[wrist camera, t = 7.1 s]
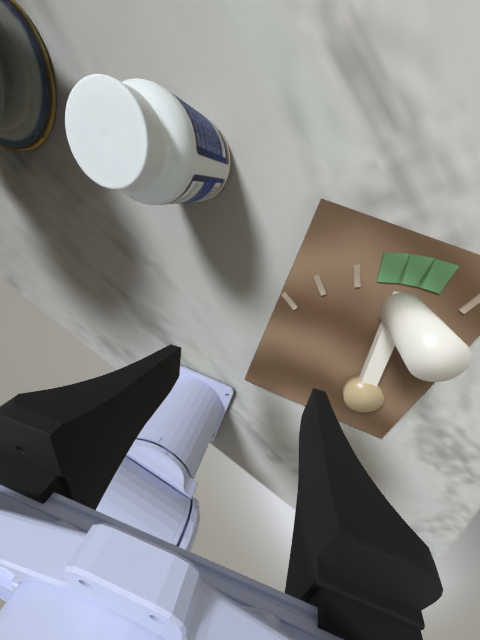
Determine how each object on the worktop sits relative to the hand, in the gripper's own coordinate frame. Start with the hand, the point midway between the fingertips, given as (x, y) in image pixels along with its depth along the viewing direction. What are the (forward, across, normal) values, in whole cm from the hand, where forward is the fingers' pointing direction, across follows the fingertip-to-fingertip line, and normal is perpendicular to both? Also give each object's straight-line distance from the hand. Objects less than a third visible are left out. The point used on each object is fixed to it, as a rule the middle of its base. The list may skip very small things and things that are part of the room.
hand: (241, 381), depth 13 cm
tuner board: (+10, -7, +1) cm, 13 cm away
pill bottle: (+11, +8, -10) cm, 16 cm away
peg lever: (+9, -9, +1) cm, 13 cm away
